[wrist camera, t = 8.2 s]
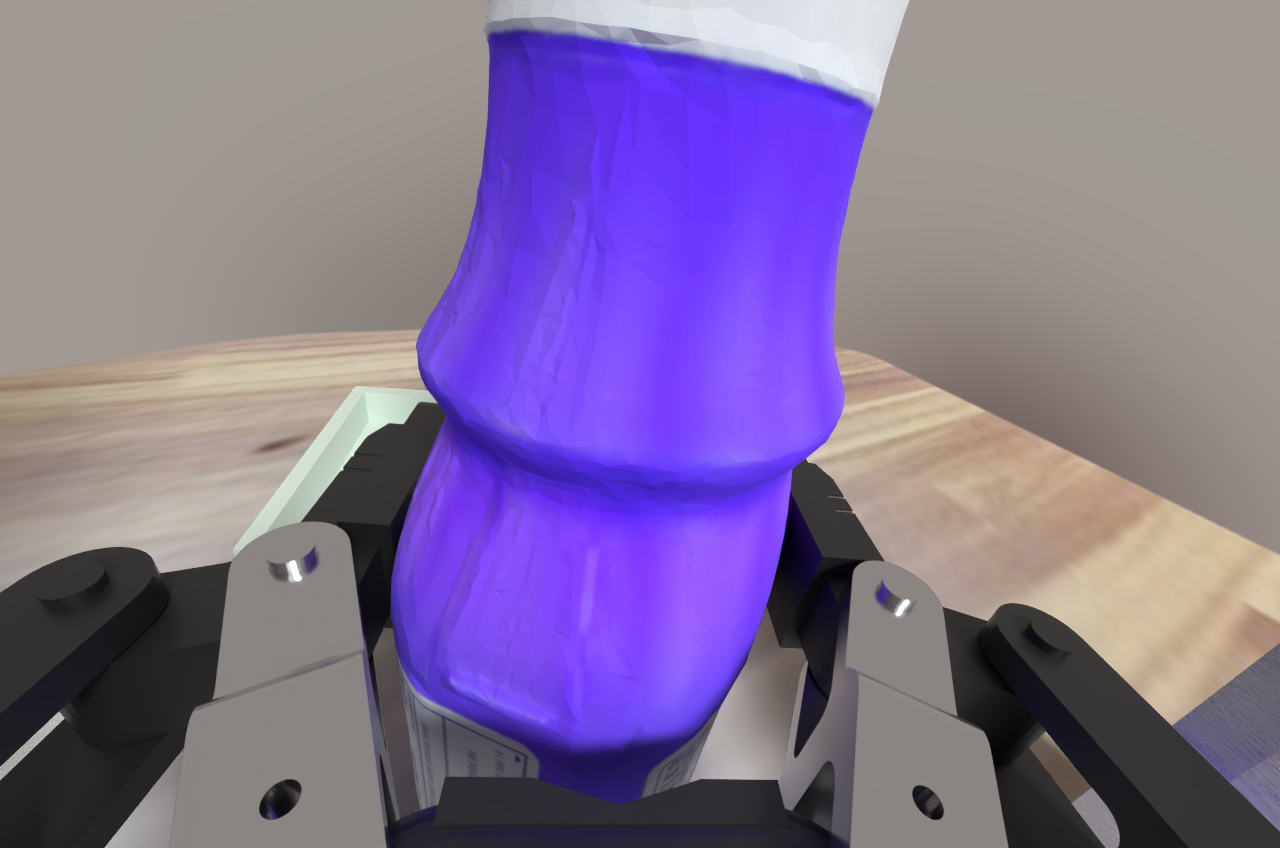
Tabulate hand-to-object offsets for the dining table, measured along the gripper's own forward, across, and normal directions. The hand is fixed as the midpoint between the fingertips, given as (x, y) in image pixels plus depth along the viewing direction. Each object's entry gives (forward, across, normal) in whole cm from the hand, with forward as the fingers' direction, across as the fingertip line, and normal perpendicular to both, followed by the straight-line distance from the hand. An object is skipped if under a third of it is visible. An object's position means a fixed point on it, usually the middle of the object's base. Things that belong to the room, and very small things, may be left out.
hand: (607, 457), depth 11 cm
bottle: (-2, 0, +10) cm, 10 cm away
